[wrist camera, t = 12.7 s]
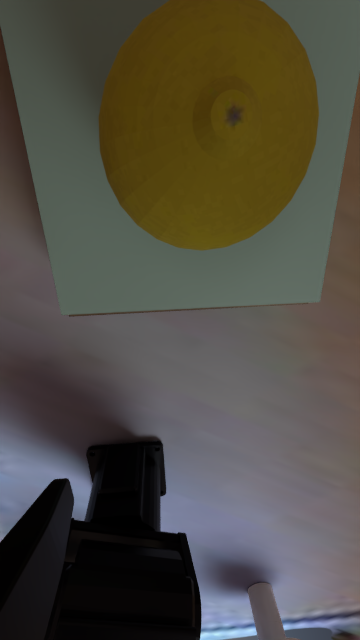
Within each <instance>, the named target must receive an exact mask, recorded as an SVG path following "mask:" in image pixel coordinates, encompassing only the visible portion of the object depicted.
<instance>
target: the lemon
mask: <svg viewBox="0 0 360 640" xmlns="http://www.w3.org/2000/svg"><path fill="white" fill-rule="evenodd" d="M318 119H319V107H318V96H317V86H316V80H315V76H314V73H313V70H312V67H311V64H310V61H309V58H308V55H307V52H306V50H305V48H304V47H303V45H302V43H301V42H300V40H299V39H298V37H297V36H296V34H295V33H294V31H293V30H292V28H291V27H290V25H289V24H288V22H286V21H285V20H284V19H283V18H282V17H281V16H280V15H278V14H277V13H276V12H275V11H274V10H273V9H271V8H270V7H269V6H268V5H267V4H266V3H264V2H262V1H260V0H169V1H168V2H166V3H165V4H163V5H162V6H161V7H159V8H158V9H156V10H155V11H154V12H152V13H151V14H149V15H148V16H146V17H145V18H144V19H143V20H142V21H141V22H140V23H139V25H138V26H137V27H136V28H135V30H134V31H133V32H132V34H131V35H130V36H129V37H128V39H127V40H126V41H125V42H124V44H123V45H122V46H121V48H120V49H119V52H118V54H117V56H116V58H115V61H114V63H113V65H112V68H111V70H110V72H109V74H108V77H107V79H106V81H105V85H104V91H103V96H102V102H101V107H100V112H99V142H100V154H101V158H102V161H103V165H104V169H105V173H106V177H107V180H108V182H109V184H110V186H111V188H112V190H113V192H114V194H115V196H116V198H117V200H118V202H119V204H120V206H121V207H122V208H123V209H124V210H125V211H126V213H127V214H128V215H129V216H130V217H131V218H132V220H133V221H134V222H135V223H136V224H137V225H138V226H139V227H140V228H142V229H143V230H145V231H146V232H147V233H149V234H150V235H152V236H153V237H154V238H156V239H157V240H160V241H162V242H165V243H168V244H170V245H173V246H175V247H178V248H184V249H192V250H200V251H203V250H210V249H217V248H224V247H228V246H230V245H233V244H235V243H238V242H240V241H243V240H245V239H248V238H250V237H251V236H253V235H254V234H256V233H257V232H258V231H260V230H261V229H263V228H264V227H266V226H267V225H268V224H270V223H271V222H272V221H273V220H274V219H275V218H276V217H277V216H278V215H279V214H280V212H281V211H282V210H283V209H284V208H285V207H286V206H287V205H288V203H289V202H290V201H291V200H292V198H293V196H294V194H295V193H296V191H297V189H298V187H299V186H300V184H301V182H302V180H303V179H304V177H305V175H306V172H307V169H308V166H309V163H310V160H311V157H312V154H313V151H314V148H315V145H316V137H317V128H318Z"/></svg>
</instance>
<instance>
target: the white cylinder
mask: <svg viewBox="0 0 360 640" xmlns="http://www.w3.org/2000/svg"><path fill="white" fill-rule="evenodd" d="M248 595H249V599H250V604H251V608H252V613H253V617H254V622H255V627H256V631H257V635H258V639H259V640H299V639H296V638H286V636H285V632H284V629H283V625H282V621H281V618H280V615H279V611H278V608H277V604H276V601H275V597H274V594H273V590H272V587H271V585H270V584H268V583H257V584H254V585H252V586H250V587H249V588H248Z"/></svg>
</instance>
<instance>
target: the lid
mask: <svg viewBox="0 0 360 640" xmlns="http://www.w3.org/2000/svg"><path fill="white" fill-rule="evenodd" d="M168 1H169V0H0V27H1V31H2V36H3V41H4V46H5V50H6V55H7V60H8V64H9V69H10V74H11V79H12V83H13V88H14V93H15V98H16V102H17V107H18V112H19V116H20V121H21V126H22V131H23V135H24V140H25V145H26V150H27V154H28V159H29V164H30V168H31V173H32V178H33V183H34V187H35V192H36V197H37V202H38V206H39V211H40V216H41V220H42V225H43V230H44V235H45V239H46V244H47V249H48V254H49V258H50V263H51V268H52V272H53V277H54V282H55V287H56V291H57V296H58V301H59V306H60V310H61V315H72V314H92V313H111V312H131V311H151V310H171V309H190V308H210V307H230V306H250V305H269V304H289V303H309V302H320V297H321V291H322V285H323V280H324V274H325V268H326V262H327V257H328V251H329V245H330V239H331V234H332V228H333V222H334V216H335V211H336V205H337V199H338V193H339V188H340V182H341V176H342V170H343V165H344V159H345V153H346V147H347V142H348V136H349V130H350V124H351V119H352V113H353V107H354V101H355V95H356V90H357V84H358V78H359V72H360V0H260V1H262V2H264V3H266V4H267V5H268V6H269V7H270V8H271V9H273V10H274V11H275V12H276V13H277V14H278V15H280V16H281V17H282V18H283V19H284V20H285V21H286V22H288V24H289V25H290V27H291V28H292V30H293V31H294V33H295V34H296V36H297V37H298V39H299V40H300V42H301V43H302V45H303V47H304V48H305V50H306V52H307V55H308V58H309V61H310V64H311V67H312V70H313V73H314V76H315V80H316V86H317V96H318V107H319V119H318V128H317V137H316V145H315V148H314V151H313V154H312V157H311V160H310V163H309V166H308V169H307V172H306V175H305V177H304V179H303V180H302V182H301V184H300V186H299V187H298V189H297V191H296V193H295V194H294V196H293V198H292V200H291V201H290V202H289V203H288V205H287V206H286V207H285V208H284V209H283V210H282V211H281V212H280V214H279V215H278V216H277V217H276V218H275V219H274V220H273V221H272V222H271V223H270V224H268V225H267V226H266V227H264V228H263V229H261V230H260V231H258V232H257V233H256V234H254V235H253V236H251V237H250V238H248V239H245V240H243V241H240V242H238V243H235V244H233V245H230V246H228V247H224V248H217V249H210V250H203V251H200V250H192V249H184V248H178V247H175V246H173V245H170V244H168V243H165V242H162V241H160V240H157V239H156V238H154V237H153V236H152V235H150V234H149V233H147V232H146V231H145V230H143V229H142V228H140V227H139V226H138V225H137V224H136V223H135V222H134V221H133V220H132V218H131V217H130V216H129V215H128V214H127V213H126V211H125V210H124V209H123V208H122V207H121V206H120V204H119V202H118V200H117V198H116V196H115V194H114V192H113V190H112V188H111V186H110V184H109V182H108V180H107V177H106V173H105V169H104V165H103V161H102V158H101V154H100V142H99V112H100V107H101V102H102V96H103V91H104V85H105V81H106V79H107V77H108V74H109V72H110V70H111V68H112V65H113V63H114V61H115V58H116V56H117V54H118V52H119V49H120V48H121V46H122V45H123V44H124V42H125V41H126V40H127V39H128V37H129V36H130V35H131V34H132V32H133V31H134V30H135V28H136V27H137V26H138V25H139V23H140V22H141V21H142V20H143V19H144V18H145V17H146V16H148V15H149V14H151V13H152V12H154V11H155V10H156V9H158V8H159V7H161V6H162V5H163V4H165V3H166V2H168Z"/></svg>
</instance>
